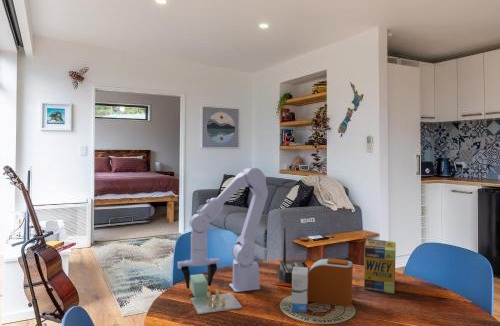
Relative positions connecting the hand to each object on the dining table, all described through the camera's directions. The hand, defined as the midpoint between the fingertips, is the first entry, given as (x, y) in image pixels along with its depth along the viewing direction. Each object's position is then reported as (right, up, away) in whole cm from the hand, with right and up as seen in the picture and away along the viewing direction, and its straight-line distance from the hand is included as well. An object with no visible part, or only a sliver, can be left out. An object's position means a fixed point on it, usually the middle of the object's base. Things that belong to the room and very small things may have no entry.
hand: (198, 286), depth 130 cm
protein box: (+67, -3, +9) cm, 68 cm away
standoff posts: (+7, -2, -10) cm, 13 cm away
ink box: (+34, -3, -12) cm, 36 cm away
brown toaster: (+45, -3, -6) cm, 45 cm away
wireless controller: (+36, -2, +21) cm, 42 cm away
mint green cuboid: (0, -2, 0) cm, 2 cm away
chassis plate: (+7, -2, -10) cm, 13 cm away
